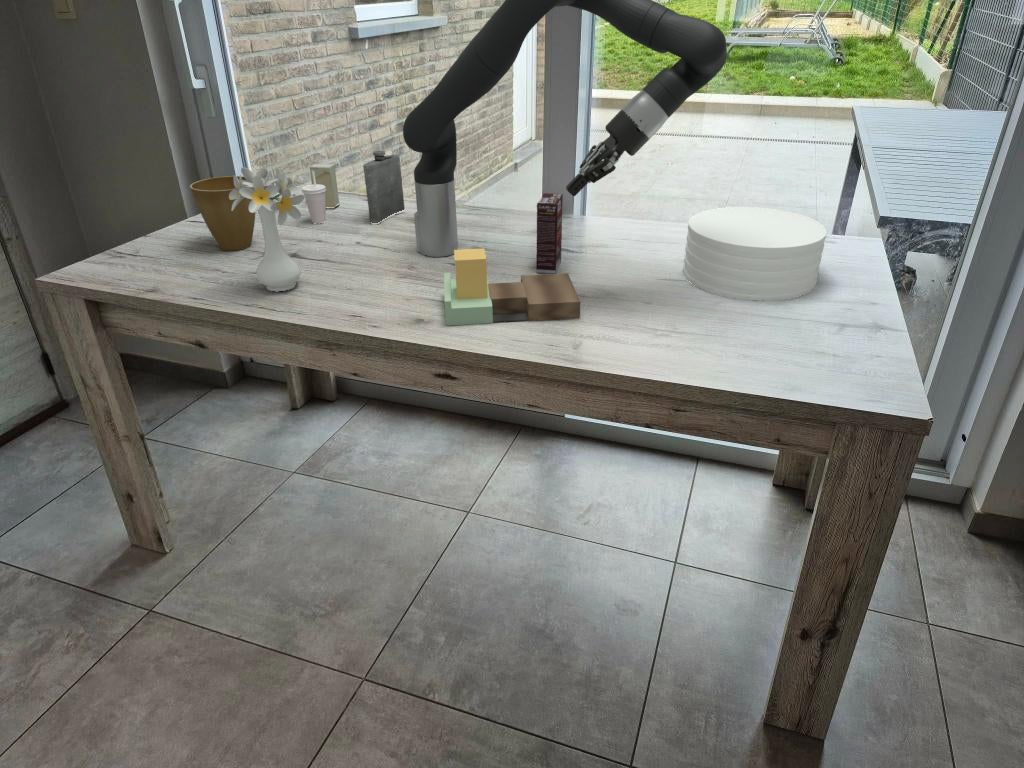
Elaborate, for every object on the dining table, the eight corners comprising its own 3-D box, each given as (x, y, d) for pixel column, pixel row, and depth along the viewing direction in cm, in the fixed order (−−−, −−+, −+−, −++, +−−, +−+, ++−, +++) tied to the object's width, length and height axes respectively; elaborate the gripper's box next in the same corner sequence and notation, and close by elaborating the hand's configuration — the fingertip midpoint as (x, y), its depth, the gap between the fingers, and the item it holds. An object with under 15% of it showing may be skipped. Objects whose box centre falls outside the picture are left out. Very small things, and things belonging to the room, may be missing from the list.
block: (485, 286, 143) (484, 248, 139) (487, 297, 138) (486, 258, 134) (456, 287, 142) (454, 249, 138) (457, 299, 137) (454, 260, 133)
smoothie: (327, 225, 191) (319, 173, 184) (304, 226, 191) (295, 174, 184) (333, 218, 197) (325, 167, 190) (310, 218, 197) (302, 168, 190)
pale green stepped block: (488, 292, 149) (487, 270, 146) (492, 322, 136) (492, 299, 133) (445, 295, 148) (444, 272, 145) (446, 325, 135) (444, 301, 133)
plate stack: (738, 311, 139) (747, 256, 133) (658, 266, 161) (662, 216, 155) (845, 287, 148) (857, 234, 142) (755, 247, 170) (763, 200, 165)
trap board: (567, 288, 150) (567, 273, 148) (579, 318, 137) (580, 301, 135) (487, 292, 149) (486, 277, 147) (491, 323, 136) (491, 306, 134)
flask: (365, 223, 192) (357, 156, 183) (396, 209, 203) (389, 145, 194) (376, 225, 191) (368, 157, 182) (406, 211, 202) (400, 146, 193)
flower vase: (291, 306, 144) (268, 183, 132) (232, 288, 153) (205, 172, 141) (336, 285, 154) (319, 169, 141) (279, 270, 163) (257, 159, 150)
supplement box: (556, 274, 157) (557, 204, 149) (535, 273, 158) (535, 203, 150) (562, 261, 164) (563, 193, 156) (541, 260, 165) (542, 192, 157)
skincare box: (314, 209, 205) (308, 166, 199) (320, 204, 209) (314, 163, 203) (335, 209, 204) (328, 167, 198) (340, 205, 208) (334, 163, 202)
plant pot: (242, 258, 170) (228, 192, 162) (192, 252, 174) (176, 188, 166) (279, 239, 182) (267, 177, 174) (231, 234, 186) (217, 173, 178)
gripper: (615, 102, 133) (551, 170, 139) (632, 114, 122) (561, 188, 127) (640, 130, 136) (576, 196, 142) (659, 144, 125) (588, 215, 130)
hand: (569, 192), depth 135 cm, fingers closed
